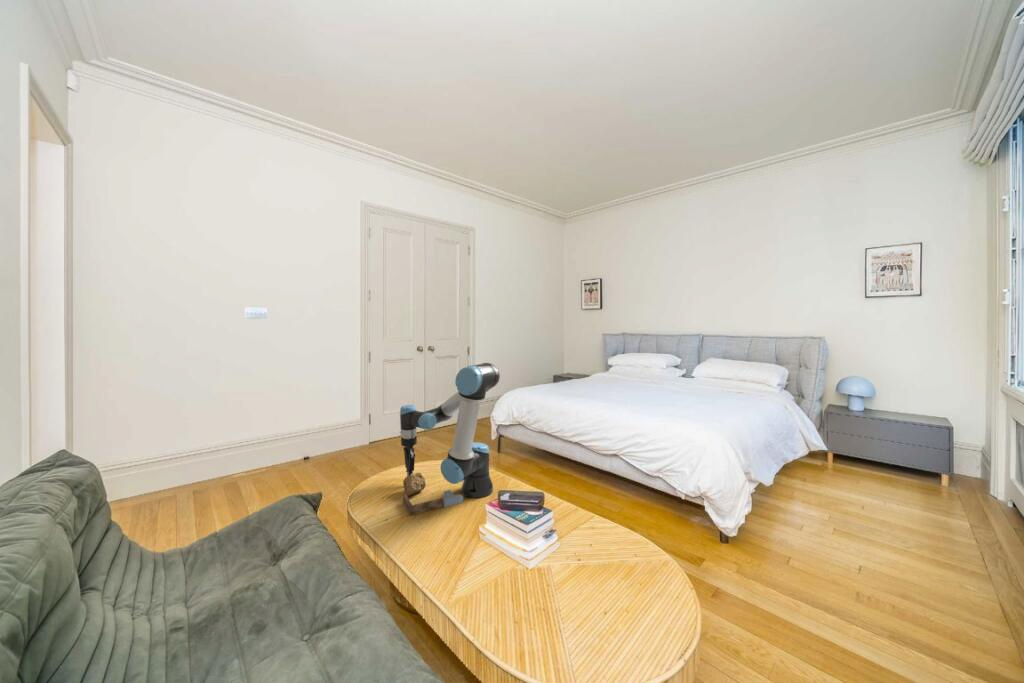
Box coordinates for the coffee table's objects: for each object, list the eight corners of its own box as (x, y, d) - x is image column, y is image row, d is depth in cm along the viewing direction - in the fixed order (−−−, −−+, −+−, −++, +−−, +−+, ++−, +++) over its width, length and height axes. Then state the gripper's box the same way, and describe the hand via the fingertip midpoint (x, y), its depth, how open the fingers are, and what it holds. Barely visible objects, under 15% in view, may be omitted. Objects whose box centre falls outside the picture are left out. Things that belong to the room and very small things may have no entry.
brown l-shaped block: (434, 495, 185) (434, 488, 185) (443, 506, 175) (443, 499, 174) (402, 503, 178) (402, 495, 178) (410, 515, 167) (409, 507, 167)
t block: (455, 494, 186) (455, 488, 186) (463, 502, 178) (463, 496, 178) (437, 499, 182) (437, 492, 181) (444, 507, 174) (444, 501, 174)
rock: (402, 490, 190) (401, 470, 190) (423, 486, 195) (422, 467, 194) (406, 501, 180) (405, 480, 179) (428, 496, 184) (428, 476, 183)
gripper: (397, 434, 197) (399, 479, 199) (404, 441, 186) (405, 489, 188) (412, 431, 201) (414, 476, 203) (420, 439, 190) (421, 486, 192)
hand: (410, 482), depth 195 cm, fingers closed
